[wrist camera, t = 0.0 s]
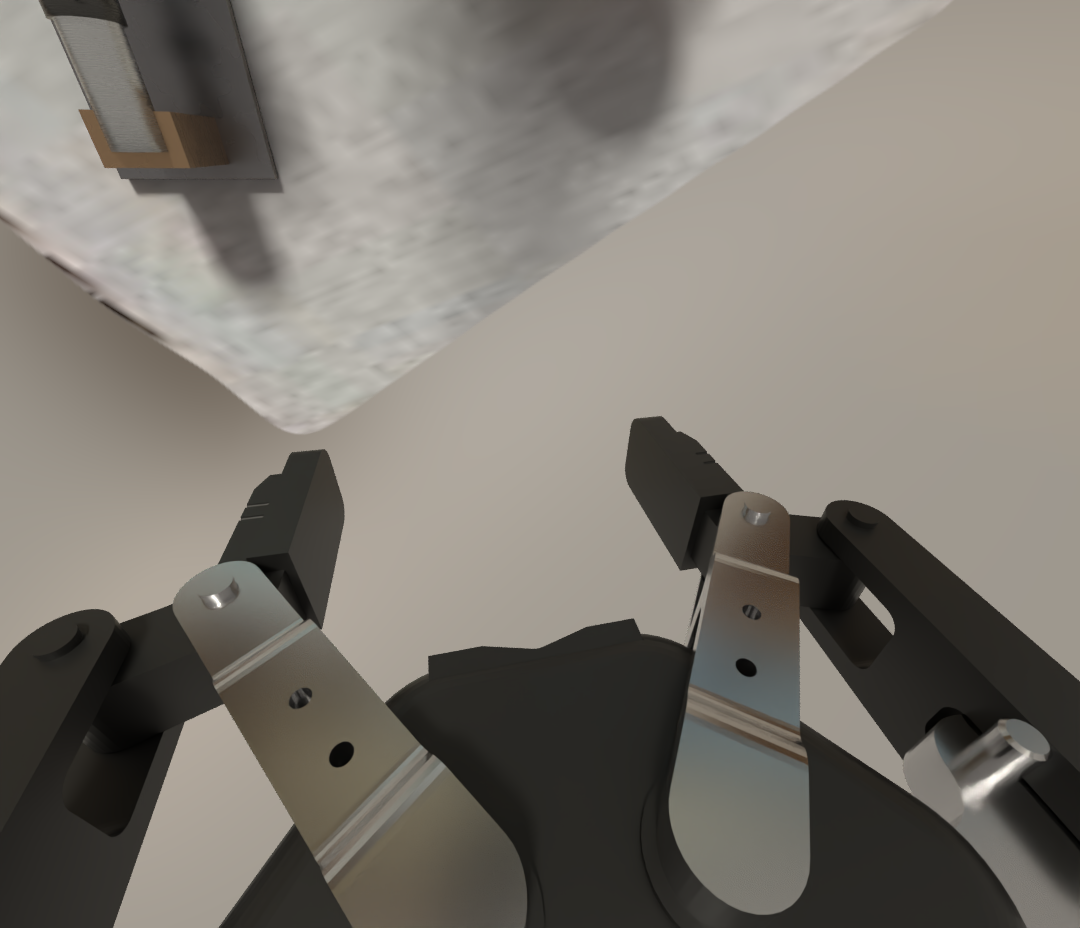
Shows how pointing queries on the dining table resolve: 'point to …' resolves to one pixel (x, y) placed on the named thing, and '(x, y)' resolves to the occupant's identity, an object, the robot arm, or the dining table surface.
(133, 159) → the pipe rig
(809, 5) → the dining table surface
